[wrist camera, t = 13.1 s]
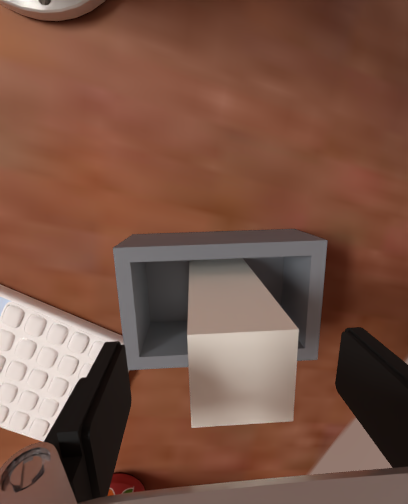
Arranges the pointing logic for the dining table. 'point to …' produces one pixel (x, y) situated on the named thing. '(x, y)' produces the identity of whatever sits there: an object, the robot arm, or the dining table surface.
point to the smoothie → (124, 484)
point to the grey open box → (177, 286)
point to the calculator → (42, 360)
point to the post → (238, 347)
